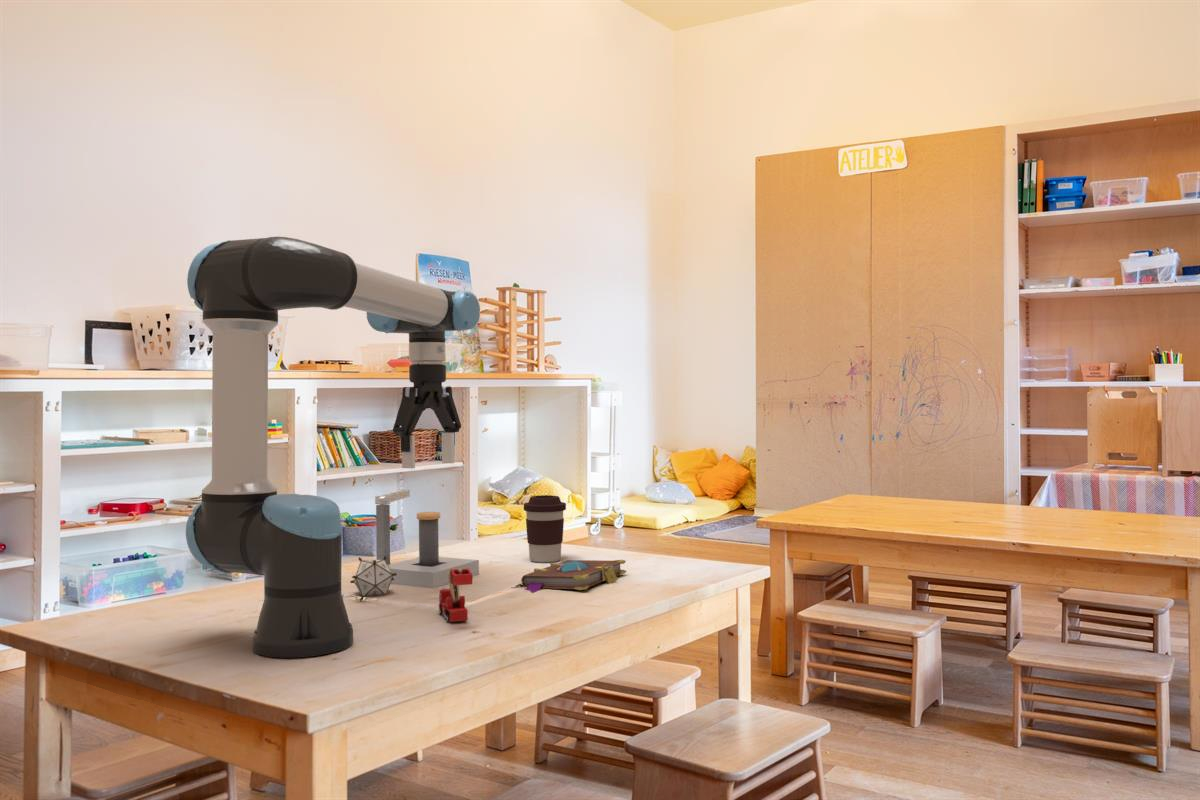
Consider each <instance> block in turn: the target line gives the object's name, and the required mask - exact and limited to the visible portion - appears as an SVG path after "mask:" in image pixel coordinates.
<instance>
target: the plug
mask: <svg viewBox="0 0 1200 800" xmlns="http://www.w3.org/2000/svg"><path fill="white" fill-rule="evenodd" d="M416 519H417V520H418V557H419V566H429V567H433V566H437V565H439V557H440V556H439V555H440V554H439V551H440V550H439V542H440V541H439V519H441V512H439V511H421V512H417V513H416Z"/></svg>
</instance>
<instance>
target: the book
mask: <svg viewBox="0 0 1200 800" xmlns="http://www.w3.org/2000/svg"><path fill="white" fill-rule="evenodd" d="M626 562H627V561H626V560H625V559H615V560H599V559H598V560H594V559H593V560H591V559H590V560H589V559H588V560H586V559H585V560H583V559H580V560H579V559H577V560H576V559H568V560H565V561H561V562H559V563H558V562H557V563H556V562H549V563H550V565H549V566H547V567H544V568H533V571H532V572H529V573H526V574H524V575H523V576H522V577H521V578H520V579H521V585H522V586H523V587H524V588H525V589H524V591H529V592H530V593H532V594H533V593H536V592H538V591H539V590H540V589H553V590H554V589H558V590H559V589H560V590H576V591H583V590H584V591H586V590H588V589H589V588H591V587H593V586H594V585H595V586H596V585H597V584H600V583H603V582H604V581H606V583H607V584H608V585H610V584H614V583H615V582H617V581H618V580H619V579H618V576H619V575H625V574H626V573H627V570H626V569H621V565H623V564H625V563H626Z"/></svg>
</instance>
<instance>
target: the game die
mask: <svg viewBox="0 0 1200 800" xmlns="http://www.w3.org/2000/svg"><path fill="white" fill-rule="evenodd" d="M385 559H386V556H384V559H378V560H377V559H366V560H365V559H364V560H363V559H362V558H361V557H358V560H359V561H360V562H359V565H358V567H357V571H356V572H355V575H352V576H351V578H352V579H354V580H350V583H351V584H354V585H355V586H356V589H357V590H358V593H360V594H359V595H361V597H360V599H359V601H360V602H361V601H363V600H364V598H366V597H369V596H381V595H382V596H383V595H387V594H388V591H389V590H390V586H391V584H390V583H391V581H393V580H394V578H393V576H396V575H397V574H396V573H394V574H393V573H392V571H391V570H390V568H389V566H388V565H387V563H386V561H385Z"/></svg>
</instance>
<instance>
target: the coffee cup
mask: <svg viewBox="0 0 1200 800" xmlns="http://www.w3.org/2000/svg"><path fill="white" fill-rule="evenodd" d="M566 510H567V504H566V502H563V501H561V498H560V496H559V495H551V494H549V495H548V494H547V495H546V494H545V495H544V494H543V495H533V496H530V497H529V500H528V501H527V502H525V503H523V511H525V512H526V518H525V527H526V538H527V540H526V541H527V544H528V551H529V555H528V556H529V560H530V561H531V562H534V563H545V564H547V563H556V562H558V561H560V560H561V558H562V556H561V555H562V543H563V541H564V526H565V523H564V521H565V519H564V512H565V511H566Z"/></svg>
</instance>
